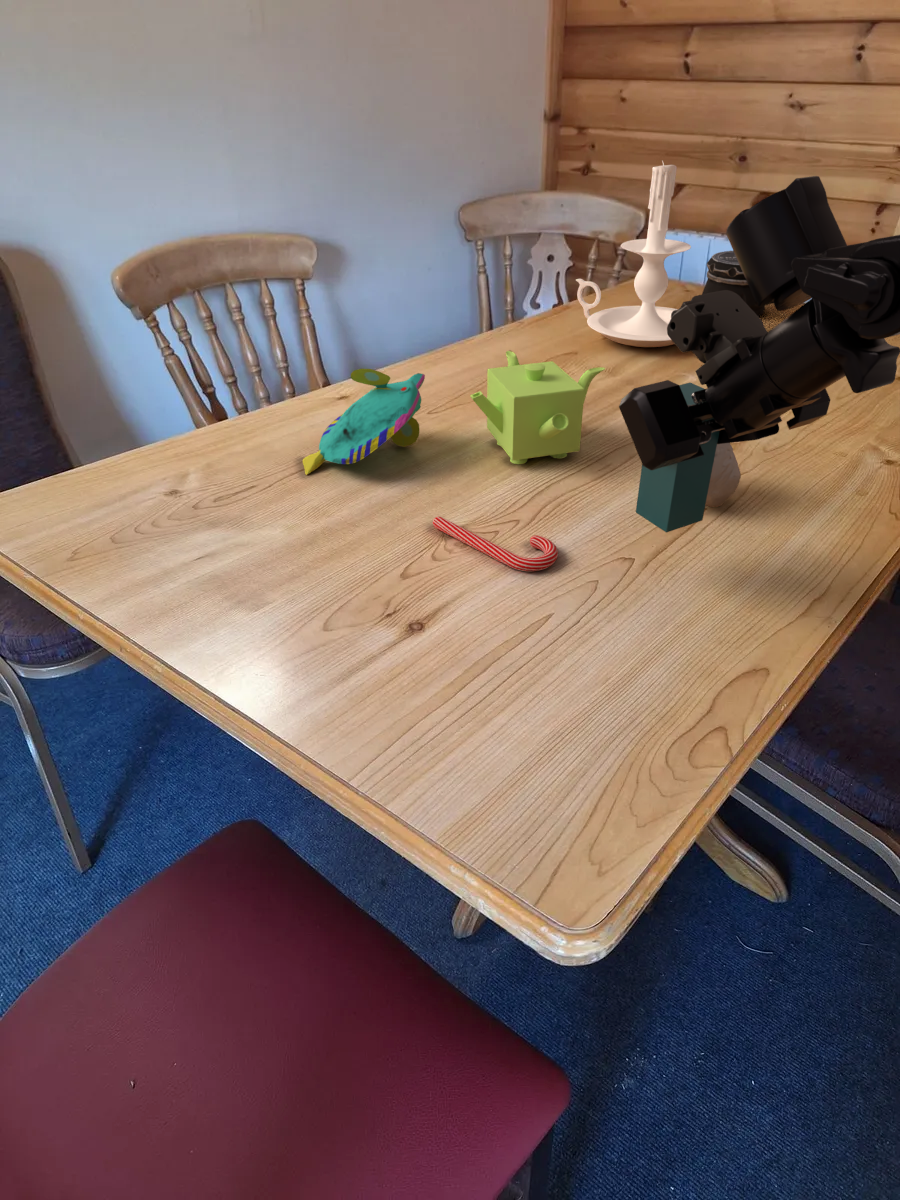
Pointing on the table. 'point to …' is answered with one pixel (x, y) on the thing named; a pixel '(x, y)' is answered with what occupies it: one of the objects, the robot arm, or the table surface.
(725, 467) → the heart
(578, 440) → the kettle
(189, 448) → the table surface
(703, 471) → the block
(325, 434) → the decorative fish
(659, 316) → the candlestick
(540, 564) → the candy cane
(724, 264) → the container
